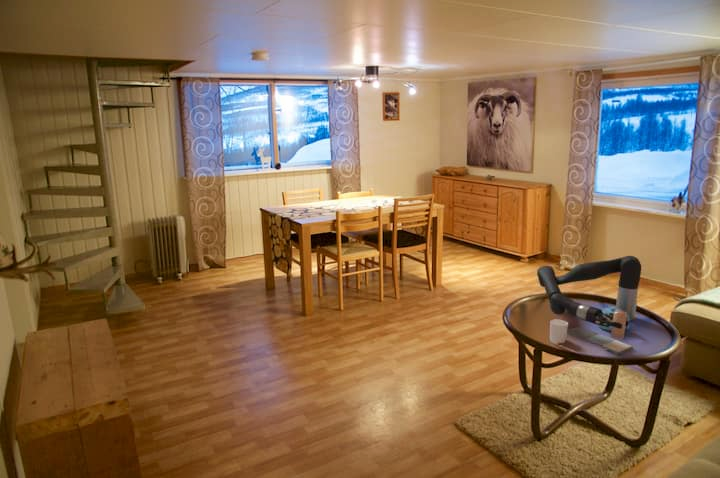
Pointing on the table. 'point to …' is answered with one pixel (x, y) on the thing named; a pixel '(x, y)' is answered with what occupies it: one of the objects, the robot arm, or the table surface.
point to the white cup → (558, 331)
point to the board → (600, 340)
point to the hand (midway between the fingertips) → (624, 325)
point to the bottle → (620, 318)
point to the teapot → (608, 311)
